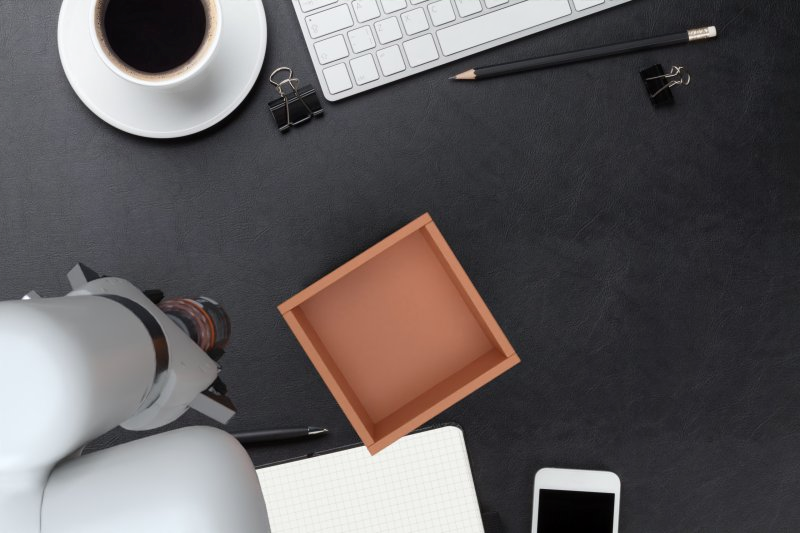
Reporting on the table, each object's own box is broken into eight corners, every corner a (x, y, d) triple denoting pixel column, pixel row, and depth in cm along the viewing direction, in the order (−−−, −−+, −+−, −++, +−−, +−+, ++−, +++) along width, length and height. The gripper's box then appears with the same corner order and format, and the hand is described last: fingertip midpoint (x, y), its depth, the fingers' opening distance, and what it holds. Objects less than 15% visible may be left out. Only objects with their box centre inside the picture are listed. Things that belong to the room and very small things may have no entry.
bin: (504, 349, 60) (521, 361, 53) (371, 434, 60) (372, 456, 53) (420, 217, 60) (427, 211, 53) (287, 301, 59) (276, 306, 53)
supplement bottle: (203, 281, 68) (169, 283, 57) (246, 332, 68) (221, 344, 57) (151, 324, 68) (107, 334, 56) (194, 375, 68) (158, 396, 56)
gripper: (-61, 303, 43) (68, 294, 61) (162, 513, 43) (225, 442, 61) (33, 207, 43) (134, 226, 61) (255, 416, 43) (289, 374, 61)
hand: (179, 334), depth 61 cm, fingers closed on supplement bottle, 6 cm apart
